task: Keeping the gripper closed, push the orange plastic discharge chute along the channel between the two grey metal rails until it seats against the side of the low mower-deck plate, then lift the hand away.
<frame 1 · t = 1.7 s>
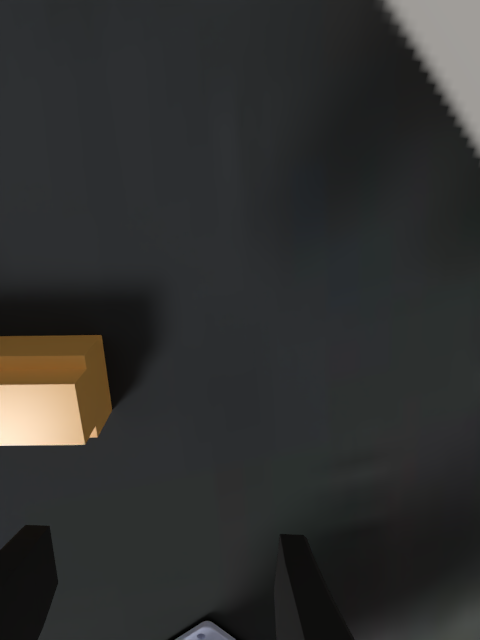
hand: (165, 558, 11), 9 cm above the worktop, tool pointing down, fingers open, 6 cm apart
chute: (35, 372, 20), on the worktop
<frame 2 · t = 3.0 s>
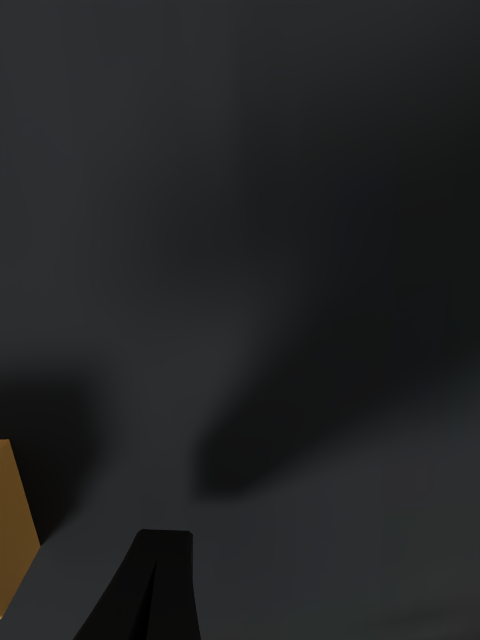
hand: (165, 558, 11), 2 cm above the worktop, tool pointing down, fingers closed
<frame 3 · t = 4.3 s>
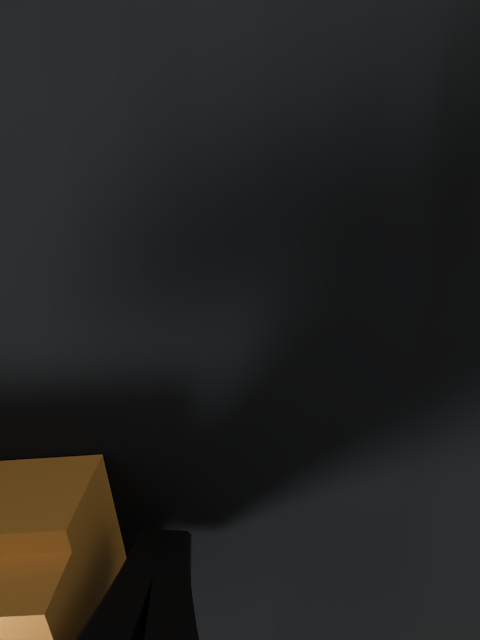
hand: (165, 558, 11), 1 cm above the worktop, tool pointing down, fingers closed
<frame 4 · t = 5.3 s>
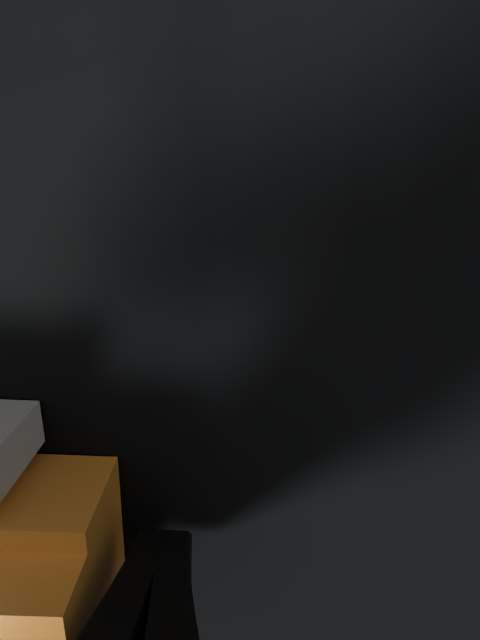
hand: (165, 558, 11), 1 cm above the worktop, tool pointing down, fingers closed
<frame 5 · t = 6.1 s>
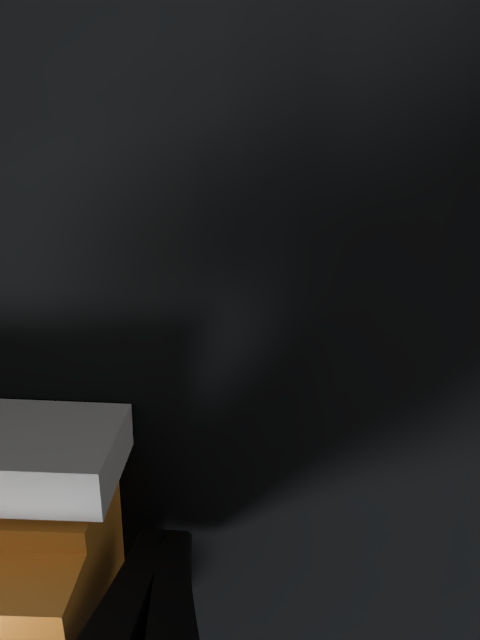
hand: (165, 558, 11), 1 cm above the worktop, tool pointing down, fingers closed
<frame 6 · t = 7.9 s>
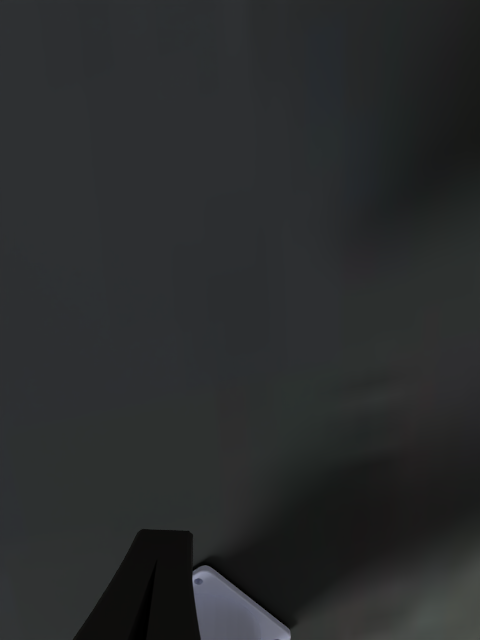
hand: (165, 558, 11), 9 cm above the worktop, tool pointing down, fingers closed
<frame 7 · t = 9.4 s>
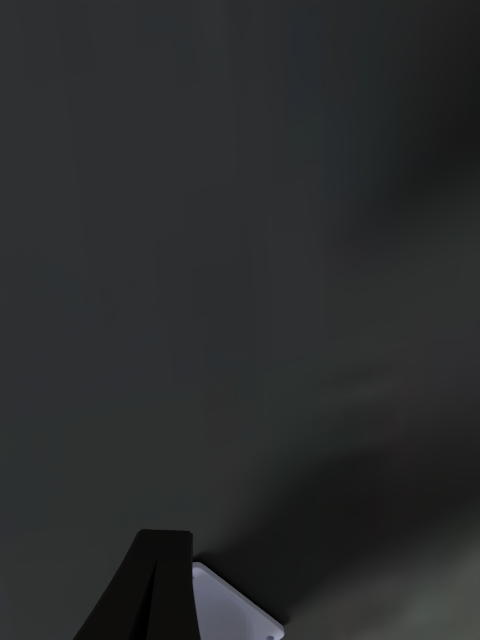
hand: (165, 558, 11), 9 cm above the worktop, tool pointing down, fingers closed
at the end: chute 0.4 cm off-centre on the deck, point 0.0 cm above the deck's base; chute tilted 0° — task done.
